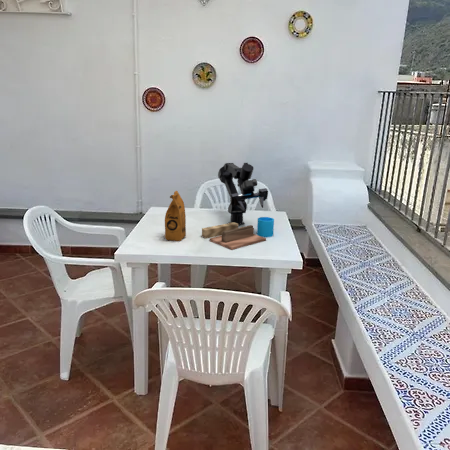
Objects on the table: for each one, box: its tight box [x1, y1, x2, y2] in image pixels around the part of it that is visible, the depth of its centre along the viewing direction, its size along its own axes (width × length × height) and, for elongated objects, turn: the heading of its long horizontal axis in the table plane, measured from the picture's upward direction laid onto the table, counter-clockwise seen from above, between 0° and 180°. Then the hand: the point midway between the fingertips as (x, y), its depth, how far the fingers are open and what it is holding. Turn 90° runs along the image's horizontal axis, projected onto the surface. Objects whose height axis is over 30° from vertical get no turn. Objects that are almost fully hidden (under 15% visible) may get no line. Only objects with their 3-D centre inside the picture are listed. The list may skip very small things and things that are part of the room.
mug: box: [256, 216, 275, 238], centre depth 222 cm, size 12×8×8 cm
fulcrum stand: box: [209, 224, 267, 251], centre depth 211 cm, size 16×22×6 cm
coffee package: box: [164, 190, 187, 242], centre depth 211 cm, size 10×12×22 cm
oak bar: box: [201, 222, 239, 239], centre depth 220 cm, size 20×4×4 cm, turn 127°
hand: (253, 209), depth 213 cm, fingers open, 9 cm apart
